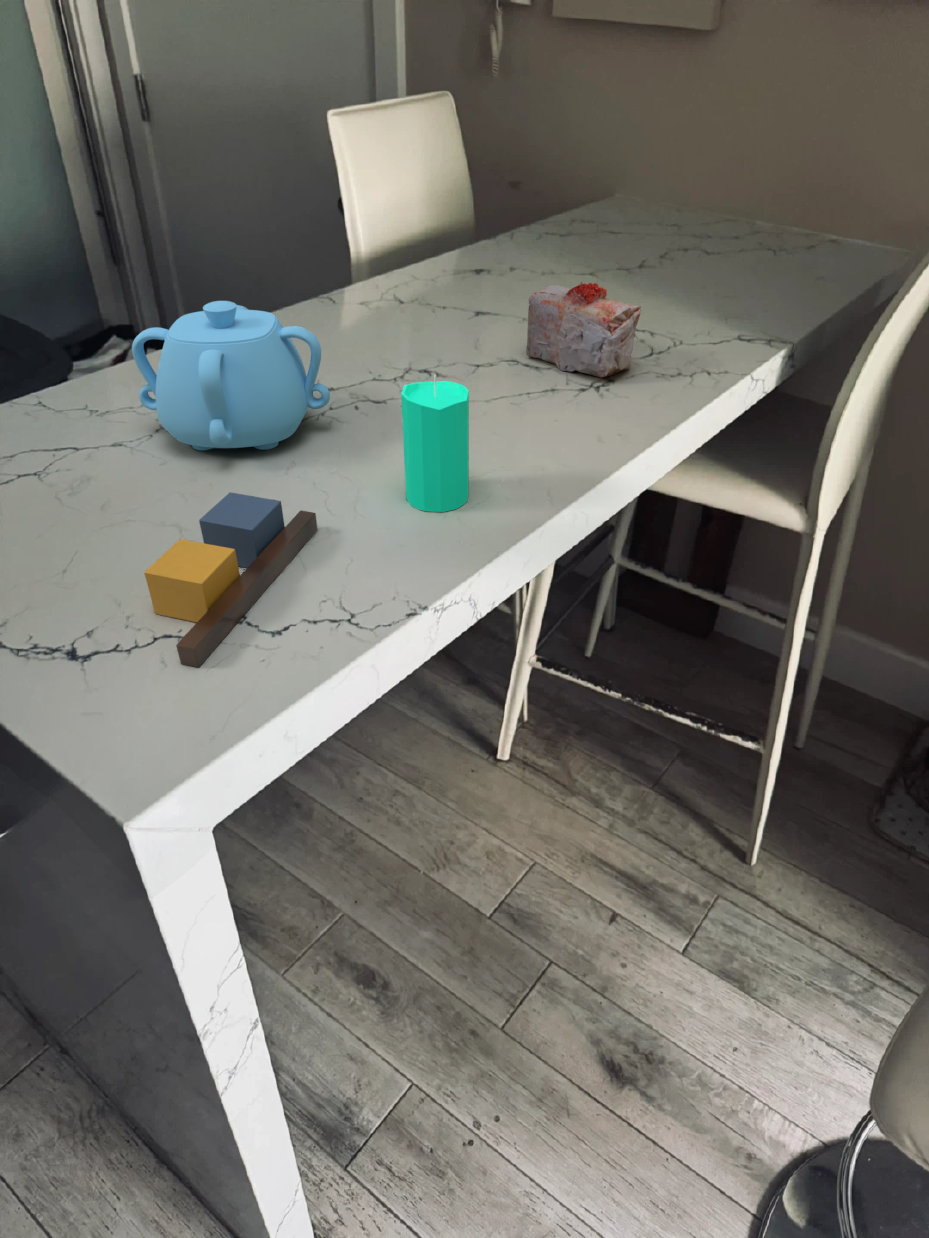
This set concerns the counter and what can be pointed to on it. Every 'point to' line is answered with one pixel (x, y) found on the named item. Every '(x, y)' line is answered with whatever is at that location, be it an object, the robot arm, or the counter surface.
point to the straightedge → (245, 590)
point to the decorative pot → (230, 378)
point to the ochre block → (190, 579)
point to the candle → (436, 444)
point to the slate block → (243, 525)
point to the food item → (581, 329)
